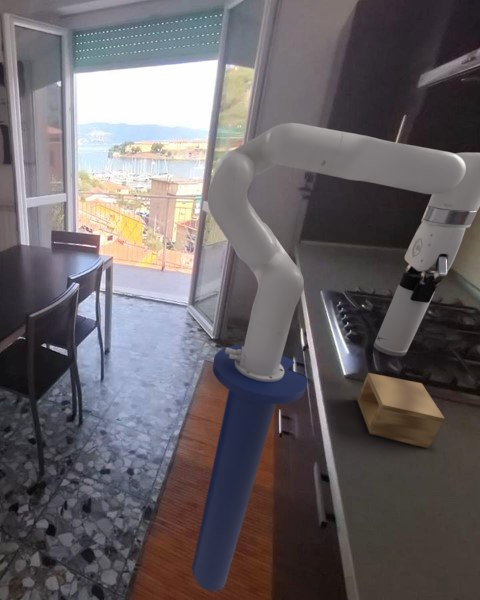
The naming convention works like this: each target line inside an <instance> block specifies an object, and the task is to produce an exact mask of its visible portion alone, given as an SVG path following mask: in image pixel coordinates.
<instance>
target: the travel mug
mask: <svg viewBox="0 0 480 600" xmlns="http://www.w3.org/2000/svg"><path fill="white" fill-rule="evenodd" d="M429 276H430V275H429ZM429 276H428V275H427V278H428V277H429ZM427 278H426V279H427ZM420 279H421V276H420V275H417V274H413V273H408V272H407V273H405V272H403V274H402V276H401V279H400V282H399V284H398V285H397V288H396V289H395V293H394V294H393V297H392V300H391V302H390V304H389V307H388V308H387V311H386V314H385V316H384V319H383V321H382V323H381V326H380V328H379V331H378V333H377V336H376V338H375V340H374V343H373V347H374V348H375V349H376V350H377V351H379V352H380V353H383V354H384V355H388V356H392V357H404V356H406V355H407V352H408V350H409V349H410V346H411V344H412V342H413V340H414V338H415V335H416V334H417V331H418V329H419V327H420V325H421V323H422V321H423V319H424V317H425V314H426V313H427V311H428V308H429V305H430V303H431V301H432V299H433V297H434V294H435V293H436V289H437V288H438V286H437V287H436V289H435V291H434V293H433V295H432V297H431V299H430V302H428V303H425V302H418V301H412V300H411V299H410V298H411V295H412V293H413V291H414V289H415V286H416V284H417V283H420Z"/></svg>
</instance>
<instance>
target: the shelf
mask: <svg viewBox="0 0 480 600" xmlns="http://www.w3.org/2000/svg"><path fill="white" fill-rule="evenodd" d="M356 401H357V403H358V406H359V409H360V411H361V414H362V417H363V419H364V422H365V425H366V428H367V430H368V433H369V434H370V435H372V436H377V437H381V438H385V439H390V440H392V441H398V442H400V443H405V444H408V445H413V446H418V447H420V448H425V449H429V448H430V446H431V444H432V442H433V441H434V439H435V438H436V435H437V433H438V431H439V430H440V428H441V426H442V424H443V422H444V420H445V417H444V415H443V414H442V412H441V411H440V409H439V408H438V406H437V404H436V403H435V402H434V400H433V398H432V396H431V395H430V393H429V392H428V391H427V390H426V387H425V386H424V384H423V383H422V382H417V381H411V380H406V379H402V378H397V377H391V376H386V375H382V374H376V373H372V372H367V374H366V376H365V379H364V382H363V384H362V386H361V389H360V392H359V394H358V397H357V399H356Z"/></svg>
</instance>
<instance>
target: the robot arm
mask: <svg viewBox="0 0 480 600" xmlns="http://www.w3.org/2000/svg"><path fill="white" fill-rule="evenodd" d="M278 165H279V166H282V167H287V168H290V169H291V168H292V169H297V170H302V171H306V172H311V173H317V174H321V175H326V176H331V177H336V178H340V179H345V180H349V181H357V182H358V181H360V182H366V183H371V184H372V183H373V184H375V185H376V184H377V185H381V186H387V187H391V188H396V189H400V190H406V191H411V192H415V193H420V194H425V195H431V196H430V198H429V201H428V203H427V206H426V208H425V211H424V213H423V215H422V218H421V221H420V222H421V223H420V225H419V226H418V228H417V229H416V232H415V234H414V236H413V237H412V239H411V242H410V244H409V246H408V248H407V250H406V252H405V254H404V260H405V262H406V263H407V267H406V268H405V272H404V273H413V274H417V275H420V276H421V279H420V283H417V284H416V286H415V289H414V291H413V293H412V295H411V298H410V299H411V300H412V301H418V302H425V303H428V302H430V303H431V301H430V299H431V297H432V295H433V296H434V294H435V293H434V291H435V292H436V290H435V289H437V288H438V286H439V285H440V283H441V282H442V281H443V280H444V279H445V278H446V277H447V275H448V272H449V270H450V269H451V267H452V265H453V263H454V261H455V259H456V256H457V255H458V252H459V249H460V246H461V244H462V241H463V238H464V236H465V232H466V230H467V228H471V225H472V223H473V221H474V220H475V217H476V215H477V213H478V210H479V209H480V152H457V153H454V152H451V151H444V150H441V149H440V150H439V149H435V148H434V149H433V148H429V147H423V146H417V145H411V144H405V143H401V142H396V141H395V142H394V141H390V140H385V139H380V138H377V137H372V136H368V135H364V134H358V133H353V132H348V131H347V132H346V131H341V130H336V129H330V128H326V127H319V126H315V125H309V124H305V123H298V122H286V123H280V124H277V125H275V126H273V127H271V128H270V129H267V130H266V131H264V132H263V133H261V134H259V135H257V136H256V137H254V138H252V139H250V140H248V141H246V142H245V143H243V144H241V145H240V146H238V147H236V148H234V149H232V150H230V151H229V152H227V153H225V154H224V155H222V157H221V158H219V159H218V161H217V162H216V164H215V167H214V171H213V172H214V173H213V177H212V179H211V182H210V185H209V188H208V191H207V206H208V210H209V212H210V215H211V217H212V218H213V220H214V222H215V224H216V225H217V226H218V228H219V229H220V231H221V232H222V234H223V235H224V237H225V238H226V240H227V241H228V243H229V244H230V246H231V247H232V248H233V250H234V251H235V254H236V255H237V257H238V258H239V259H240V260H241V261H242V262H244V263H245V264H246V265H247V266H248V268H249V269H250V270H251V272H252V273H253V274H254V276H255V279H256V281H257V291H256V294H255V297H254V300H253V304H252V307H251V312H250V316H249V321H248V325H247V331H246V335H245V340H244V345H241V346H242V350H240V349H238V350H235V349H231V348H227V347H225V348H226V350H225V354H228V355H229V359H235V367H236V368H237V370H238V371H239V372H240V373H242V374H243V375H245V376H246V377H249V378H251V379H254V380H257V381H262V382H275V381H278V380H280V379H282V378H283V376H284V368H283V366H282V365H281V364H280V362H281V358H282V355H283V354H284V350H285V347H286V343H287V339H288V336H289V333H290V329H291V324H292V320H293V318H294V314H295V311H296V308H297V305H298V303H299V301H300V300H301V299H300V298H301V296H302V294H303V291H304V286H305V281H304V277H303V273H302V272H301V270H300V268H299V267H298V265H297V264H296V263H295V262H294V261H293V259H292V257H290V256H289V254H288V252H287V251H286V250H285V248H284V246H283V245H282V244H281V243H280V241H279V240H278V238H277V237H276V236H275V234H274V232H273V231H272V229H271V228H270V227H269V226H268V224H267V223H265V222H264V221H262V219H261V217H260V216H259V215H258V213H257V212H256V210H255V208H254V207H253V206H252V204H251V202H250V200H249V198H248V191H249V188H250V186H251V185H252V183H253V181H254V179H255V177H257V176H259V175H261V174H263V173H264V172H267V171H269V170H271V169H272V168H274V167H276V166H278ZM431 269H433V270H431ZM428 275H429V277H428ZM427 277H428V278H427ZM426 278H427V279H426ZM436 287H437V288H436ZM433 293H434V294H433ZM432 298H433V297H432ZM431 300H432V299H431ZM243 346H244V347H243Z"/></svg>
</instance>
